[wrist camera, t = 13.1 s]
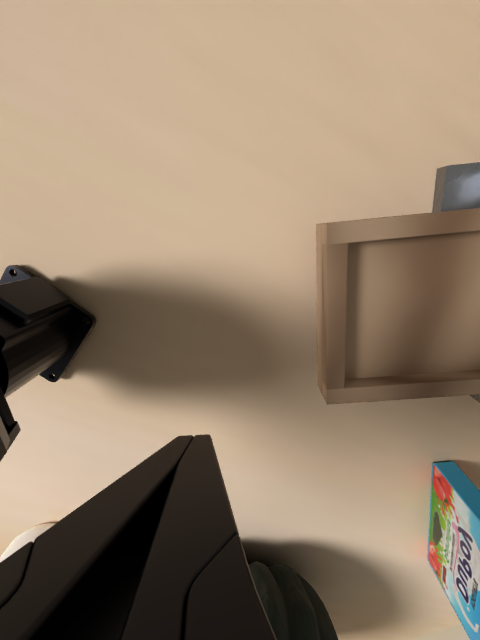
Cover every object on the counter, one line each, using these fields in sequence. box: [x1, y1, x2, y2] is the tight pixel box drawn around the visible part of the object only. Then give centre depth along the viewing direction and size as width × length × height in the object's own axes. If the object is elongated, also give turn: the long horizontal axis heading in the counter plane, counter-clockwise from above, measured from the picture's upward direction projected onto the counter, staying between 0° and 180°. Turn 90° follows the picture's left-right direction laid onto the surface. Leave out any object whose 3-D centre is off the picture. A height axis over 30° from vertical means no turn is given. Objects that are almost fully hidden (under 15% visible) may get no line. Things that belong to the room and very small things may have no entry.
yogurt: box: [428, 461, 480, 640], centre depth 22 cm, size 12×2×6 cm, turn 10°
